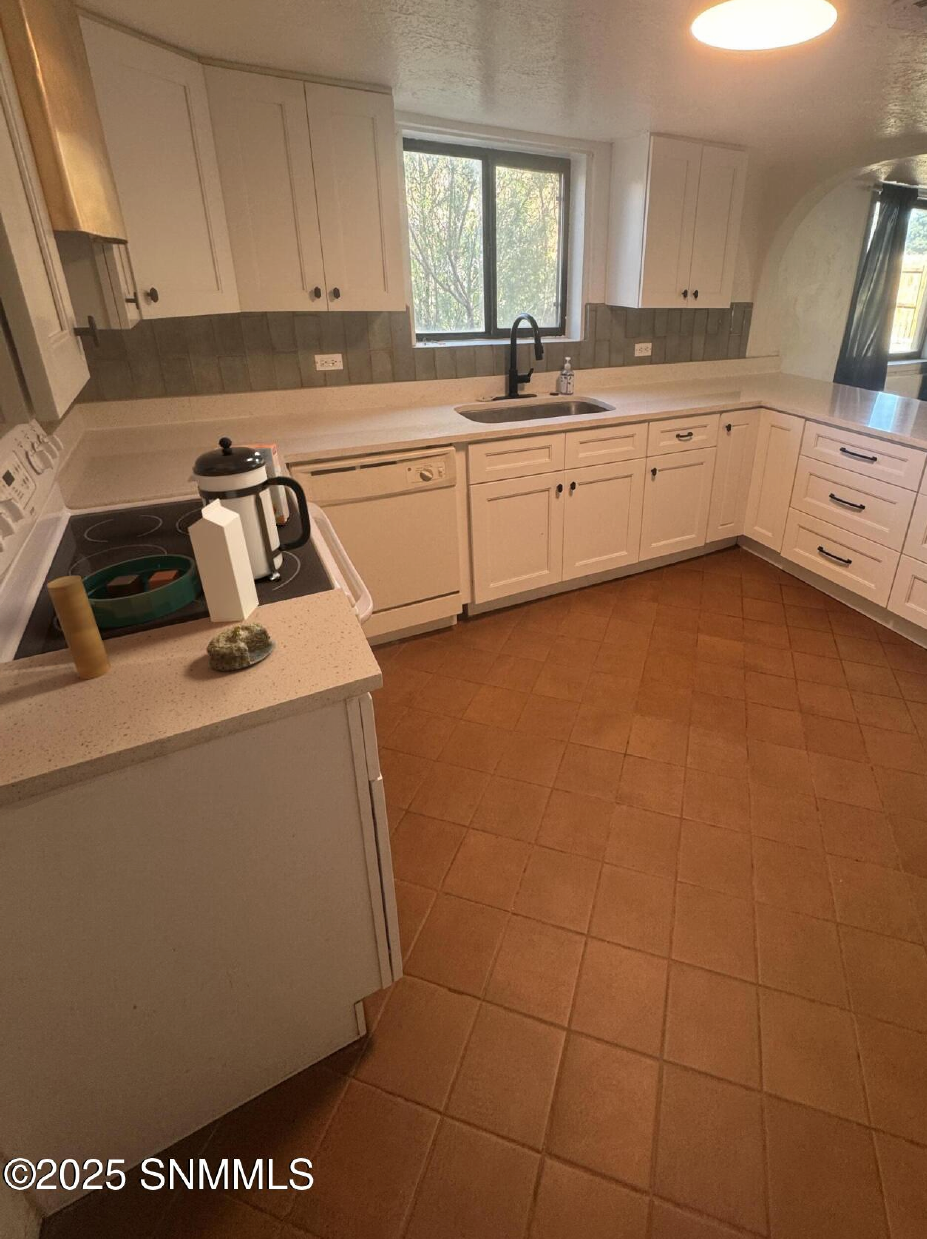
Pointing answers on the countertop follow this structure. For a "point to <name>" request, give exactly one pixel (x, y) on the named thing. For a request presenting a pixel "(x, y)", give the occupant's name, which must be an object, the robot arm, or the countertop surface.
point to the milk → (223, 564)
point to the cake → (240, 647)
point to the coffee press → (249, 502)
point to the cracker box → (273, 471)
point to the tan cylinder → (79, 626)
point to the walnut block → (125, 586)
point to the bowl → (150, 601)
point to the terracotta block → (163, 579)
